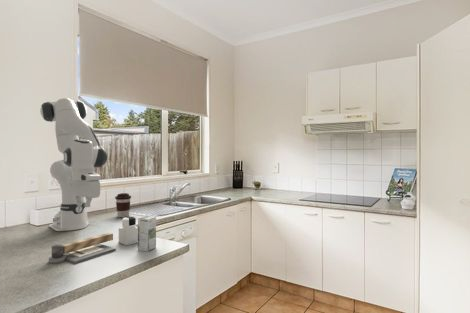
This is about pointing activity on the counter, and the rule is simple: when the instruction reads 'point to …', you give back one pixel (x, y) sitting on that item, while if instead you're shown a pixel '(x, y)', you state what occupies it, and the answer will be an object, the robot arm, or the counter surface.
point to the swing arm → (80, 244)
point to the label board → (83, 254)
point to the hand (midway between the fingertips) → (83, 206)
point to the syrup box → (146, 233)
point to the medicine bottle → (128, 231)
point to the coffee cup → (123, 204)
